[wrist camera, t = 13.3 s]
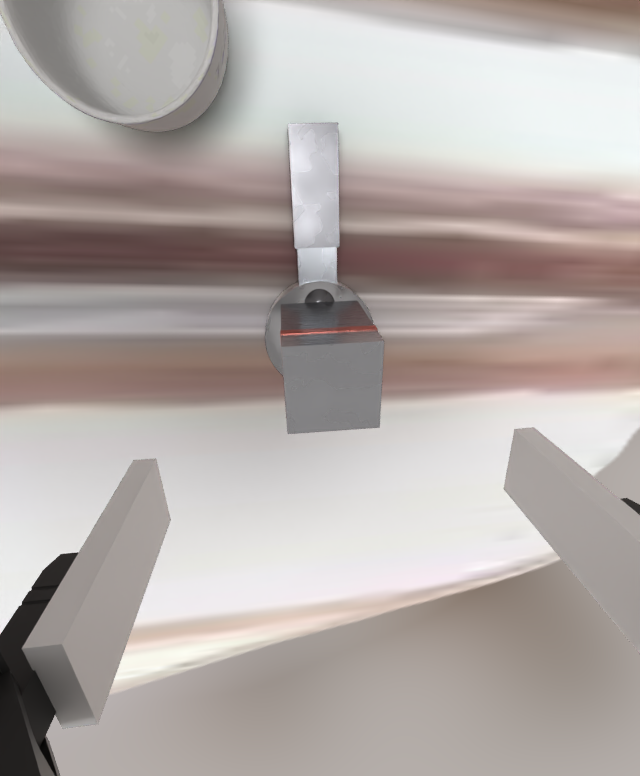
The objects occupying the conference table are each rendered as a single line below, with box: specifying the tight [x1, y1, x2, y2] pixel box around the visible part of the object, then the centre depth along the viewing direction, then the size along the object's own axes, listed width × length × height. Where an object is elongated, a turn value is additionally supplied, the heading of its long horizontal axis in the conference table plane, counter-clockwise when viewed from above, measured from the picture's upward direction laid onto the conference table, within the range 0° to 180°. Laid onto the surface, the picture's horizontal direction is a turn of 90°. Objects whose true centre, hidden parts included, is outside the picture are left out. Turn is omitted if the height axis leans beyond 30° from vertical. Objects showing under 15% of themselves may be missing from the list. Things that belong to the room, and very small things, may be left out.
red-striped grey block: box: [280, 300, 384, 434], centre depth 28 cm, size 6×6×9 cm
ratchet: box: [265, 123, 374, 375], centre depth 29 cm, size 20×9×8 cm, turn 2°
